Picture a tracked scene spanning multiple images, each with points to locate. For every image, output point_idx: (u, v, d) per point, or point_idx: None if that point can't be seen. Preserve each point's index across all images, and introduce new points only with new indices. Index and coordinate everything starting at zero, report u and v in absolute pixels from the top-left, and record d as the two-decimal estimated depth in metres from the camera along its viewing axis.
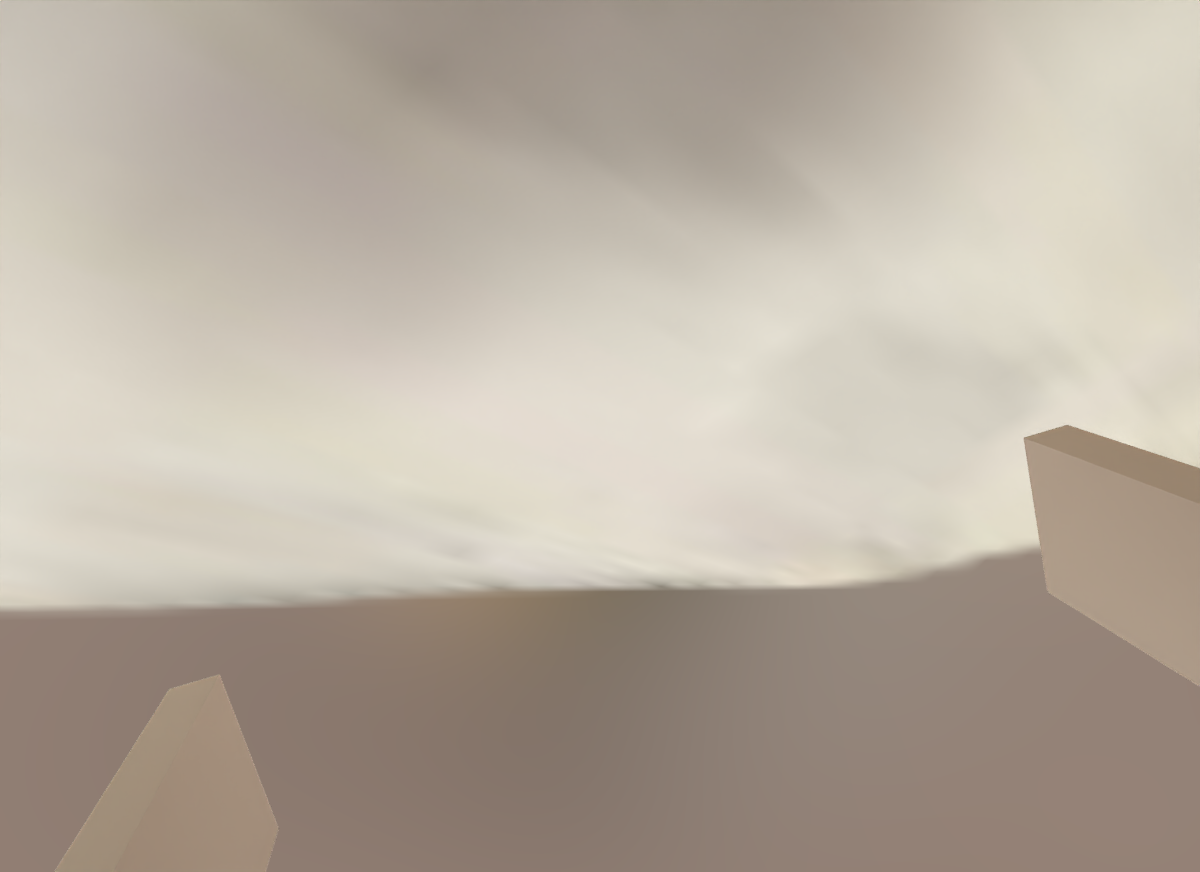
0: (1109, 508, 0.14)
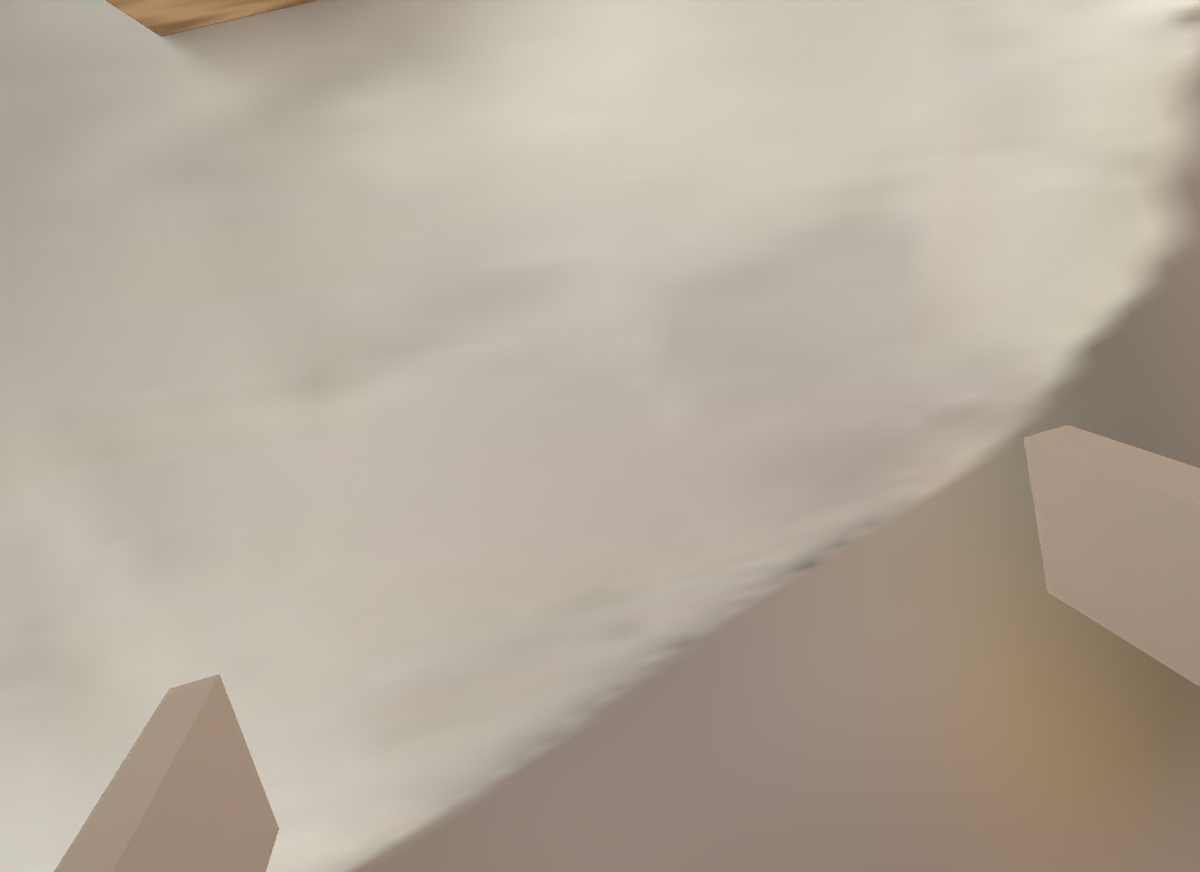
0: (1108, 508, 0.14)
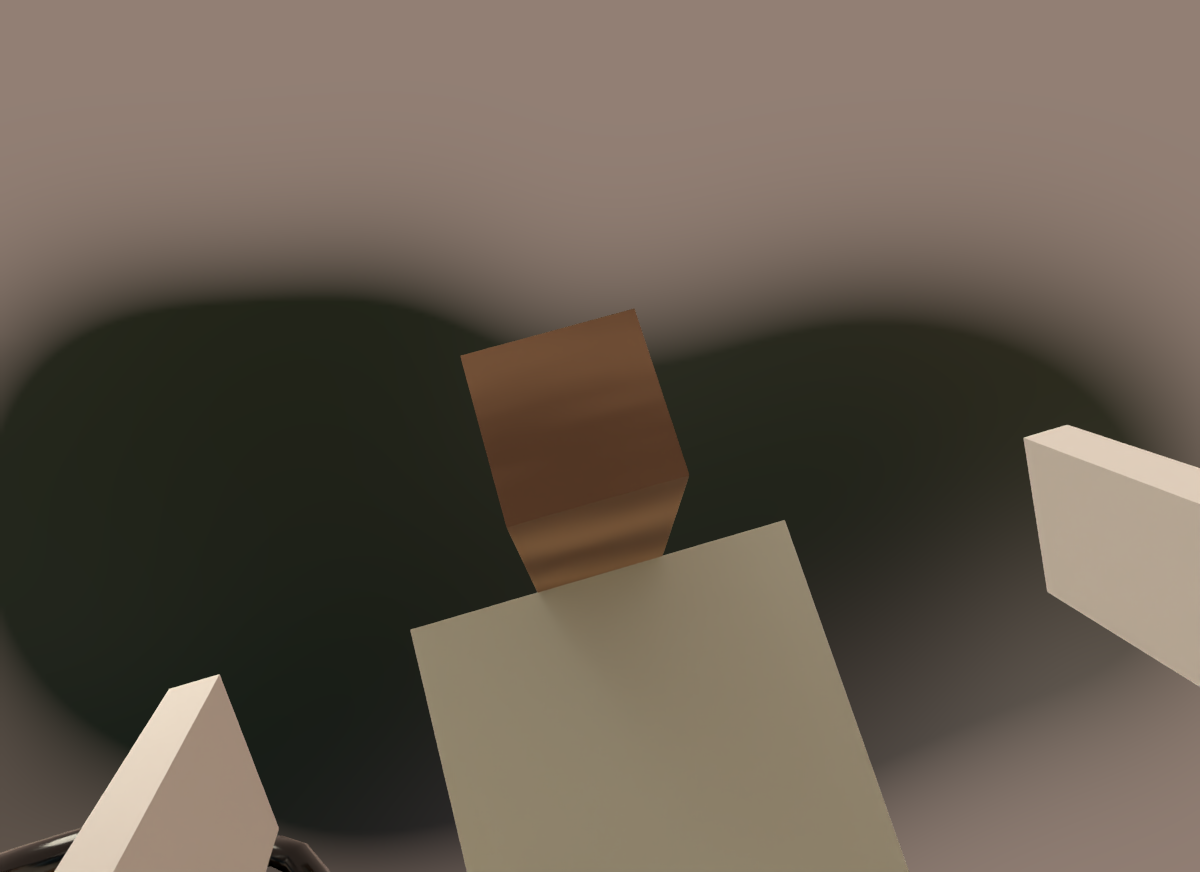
0: (1108, 509, 0.14)
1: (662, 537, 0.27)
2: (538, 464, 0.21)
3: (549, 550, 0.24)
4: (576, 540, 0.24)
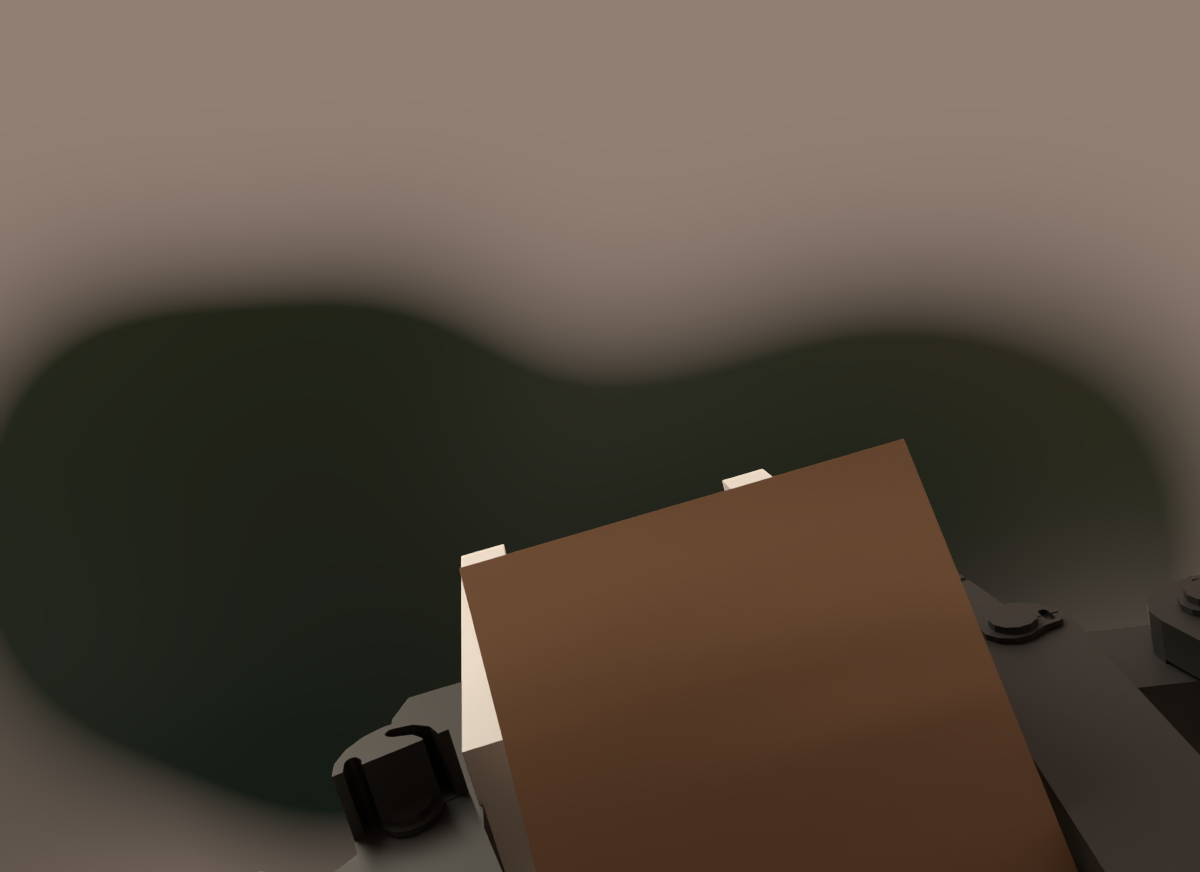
0: None
1: None
2: None
3: None
4: None
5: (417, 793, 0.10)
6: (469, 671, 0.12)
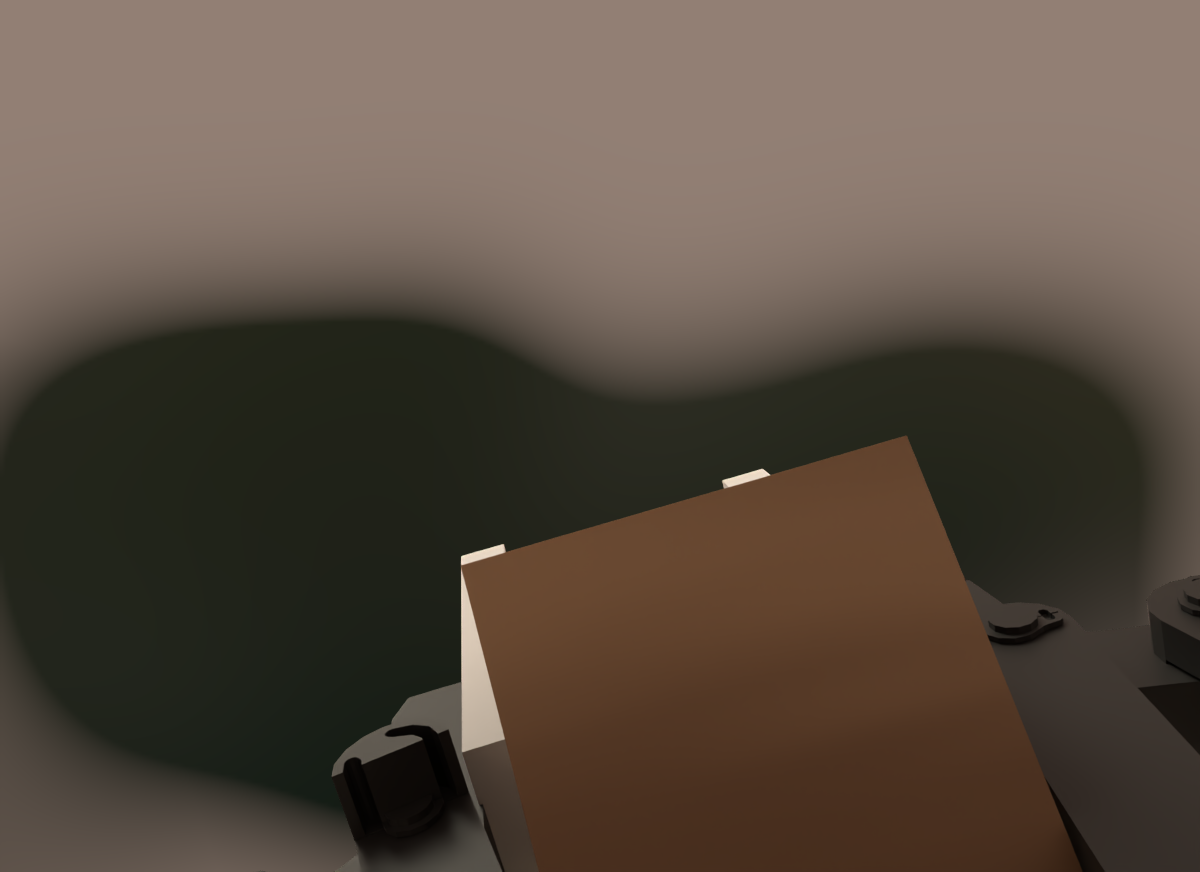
0: None
1: None
2: None
3: None
4: None
5: (417, 793, 0.10)
6: (469, 671, 0.12)
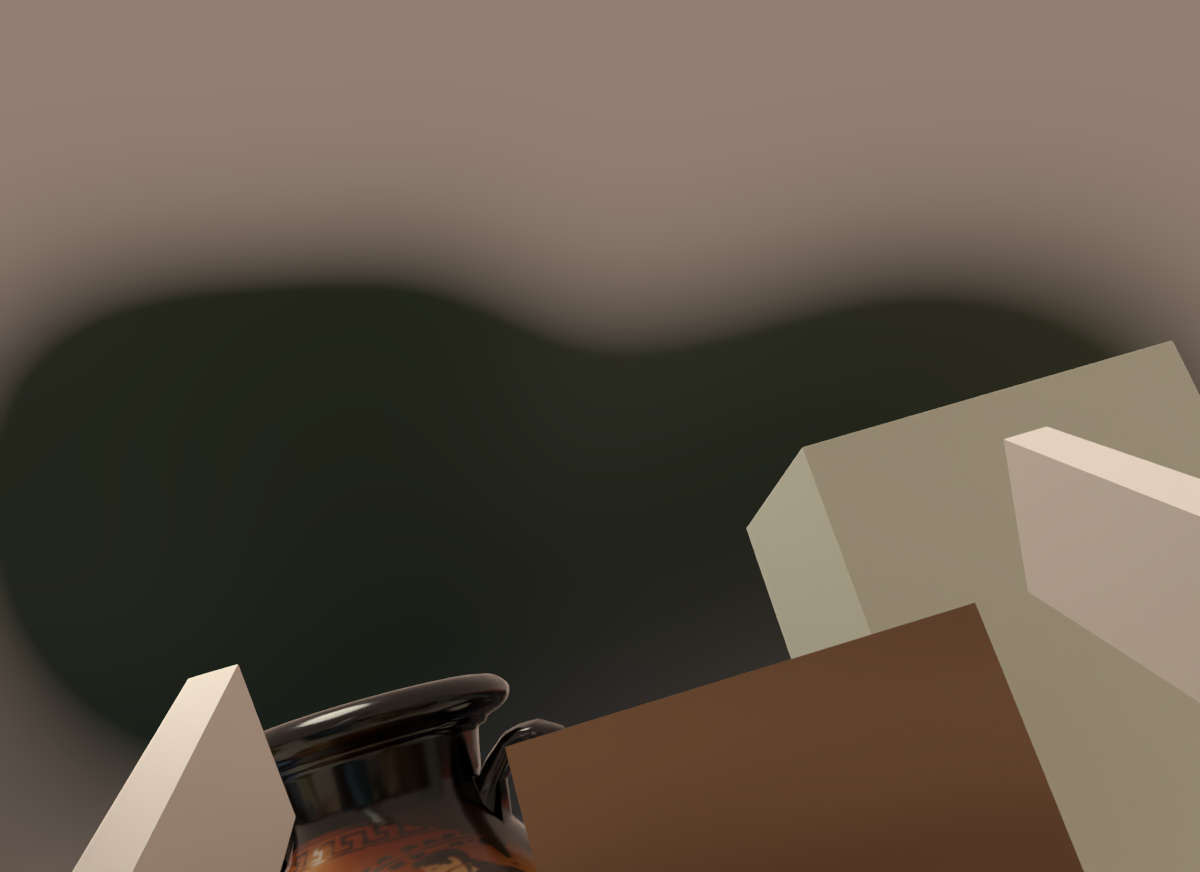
0: (1085, 510, 0.14)
1: None
2: None
3: None
4: None
5: None
6: (80, 871, 0.10)
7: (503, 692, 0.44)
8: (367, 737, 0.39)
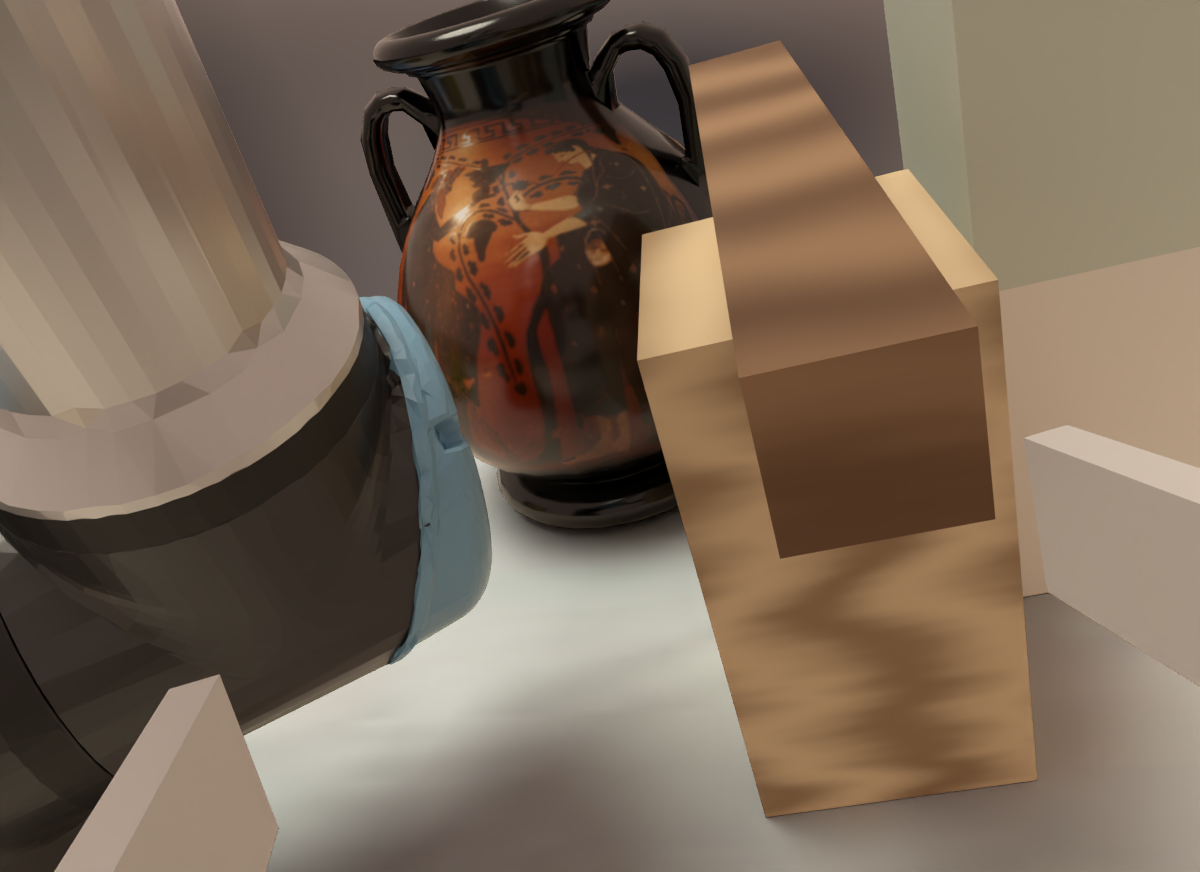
0: (1108, 509, 0.14)
1: None
2: (822, 501, 0.18)
3: None
4: None
5: None
6: None
7: None
8: (500, 49, 0.46)
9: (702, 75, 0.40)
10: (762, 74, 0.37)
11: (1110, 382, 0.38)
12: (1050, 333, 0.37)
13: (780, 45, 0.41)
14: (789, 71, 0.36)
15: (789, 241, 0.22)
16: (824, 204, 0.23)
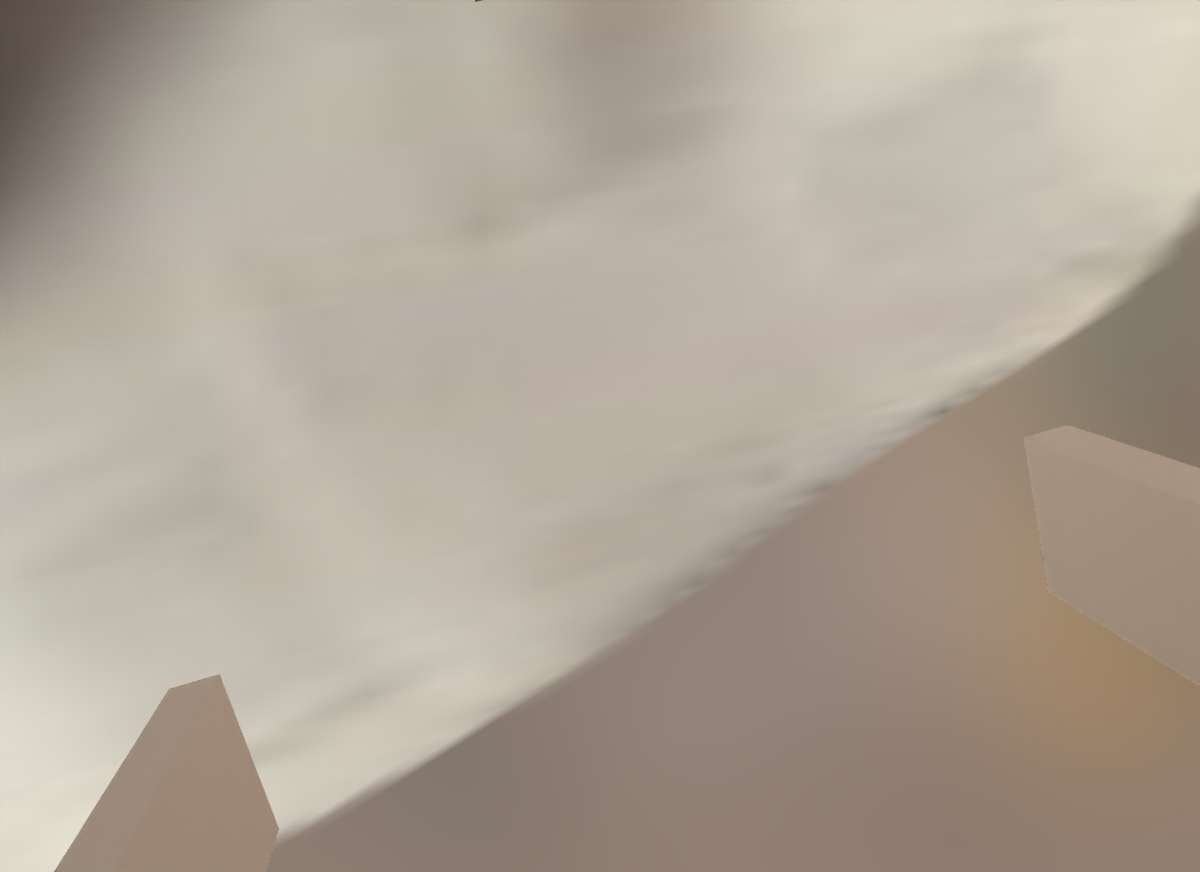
0: (1108, 509, 0.14)
1: None
2: None
3: None
4: None
5: None
6: None
7: None
8: None
9: None
10: None
11: None
12: None
13: None
14: None
15: None
16: None
